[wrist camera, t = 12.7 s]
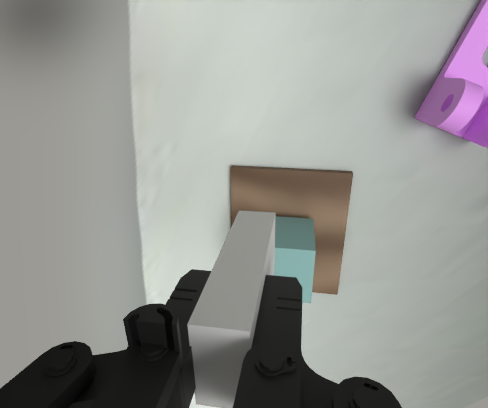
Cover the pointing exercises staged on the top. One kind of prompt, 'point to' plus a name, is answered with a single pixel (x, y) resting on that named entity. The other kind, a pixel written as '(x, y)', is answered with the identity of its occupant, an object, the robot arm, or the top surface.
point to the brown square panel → (301, 208)
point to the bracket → (462, 85)
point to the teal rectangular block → (295, 251)
